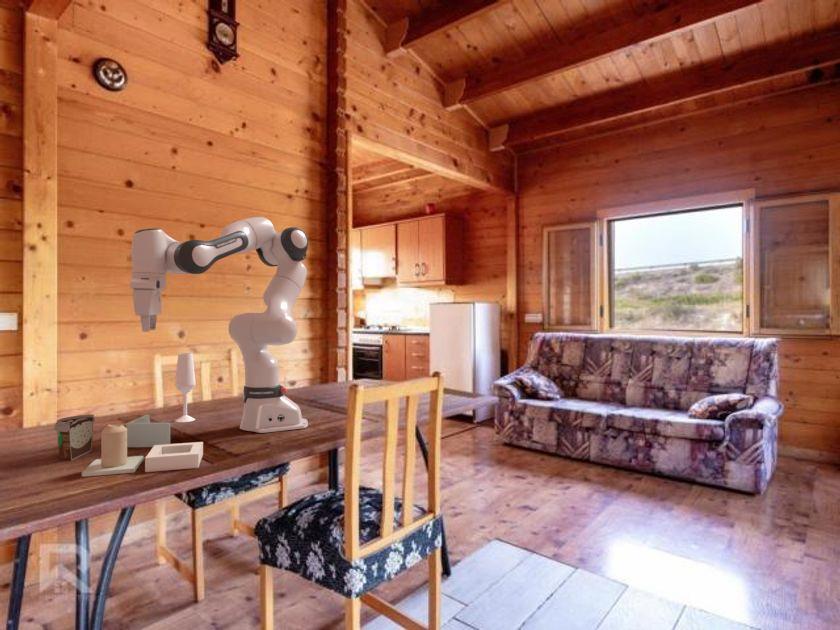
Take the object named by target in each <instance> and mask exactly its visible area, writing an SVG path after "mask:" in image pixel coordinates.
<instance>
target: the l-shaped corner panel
mask: <svg viewBox="0 0 840 630" xmlns="http://www.w3.org/2000/svg"><path fill="white" fill-rule="evenodd" d="M150 418H151V417H150V414H144V415H141V416H140V417H138V418H135V419H133V420H131V421H129V422H126V423H125V425H126V426H125V428H127V448H153V446H154V445H164V444H171V422H151V420H150Z"/></svg>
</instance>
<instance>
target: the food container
mask: <svg viewBox="0 0 840 630" xmlns="http://www.w3.org/2000/svg"><path fill="white" fill-rule="evenodd" d="M95 421H96V418H95V414H81V415H79V414H78V415H73V416H67V417H62V418H59V419H57V420H56V422H55V423H54V428H53V431H55V432H56V433H57V445H58V453H59V454H58V455H59V456H58V457H59V459H60V460H61V461H67V462H69V461H70V462H71V461H74V460H76V459H78V458H79V457H81V456H84V455H87V454H88V453H89V452H92V450H93V439H94V438H93V436H94V435H93V434H94V422H95Z"/></svg>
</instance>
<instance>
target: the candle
mask: <svg viewBox="0 0 840 630" xmlns="http://www.w3.org/2000/svg"><path fill="white" fill-rule="evenodd" d="M100 441H101V443H100V446H101V448H100V449H101V451H100V453H101V455H100V456H101V457H100V459H101V465H102V467H117V466H121V465H124V464H126V463H127V457H128V447H127V428H126V426H124V425H123V424H122V423H114V424H110V423H109V424H108V425H107V426H106V427H105V428H103V429H102V431H101V440H100Z"/></svg>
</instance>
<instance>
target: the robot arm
mask: <svg viewBox="0 0 840 630" xmlns="http://www.w3.org/2000/svg"><path fill="white" fill-rule="evenodd" d="M220 233H221V234H220V237H217V238H216V237H215V238H213V239H210V240H201V239H189V240H186V241H178V240H177V239H176V240H175V239H174V238H173V237H171V236H169V235H168V234H167V233H165V231H164V230H163V229H162V228H155V227H154V228H152V227H151V228H144V229H139V230H136V231H135V232H134V233H133V235H132V241H131V253H130V255H131V257H130V258H131V261H132V269H131V280H130V285H129V286H130V289H131V290H132V301H133V309H134V310H133V311H134V314H135V316H137V317H140V323H141V332H143V333H145V332H146V333H148V332H150V331H155V330H156V329H157V320H158V315H161V314H162V291H164V290H166V289H167V280H166V279H167V275H166V274H167V273H168V274H172V275H185V274H187V275H188V274H193V275H201V274H203V273H205V272H207V271H208V270H210V268H212V266H214V264H215V263H216V262H218V261H219V260H221V259H224V258H226V257H229V256H231V255H241V254H242V255H243V254H247V253H250V252H252V251H255V252H256V253H257V255H258V256H257V257H258V258H259V260H260V261H261V262H262V263H263V265H265V266H267V267H271V268H272V267H274V268H275V267H276V268H277V269H276V272H275V273H274V275H273V277H272V278H271V280H270V282H269V284H268V285H267V287H266V289H265V291H264V292H263V296H262V298H263V302H264V304H265V306H266V307H267V308H266V310H264V311H262V312H245V313H239V314H238V315H237V314H236V315H235V316H233V317H231V320H230V321H229V323H228V334H229V337H230V338H231V339H232V340H233V341H234V342H235V343H236V345H237V346H238V348H239V350H240V352H241V355H242V358H243V359H242V360H243V362H244V386H243V390H242V394H243V395H242V400H243V404H244V405H243V411H242V418H241V421H240V425H239V429H240V430H242V431H247V432H255V433H259V434H262V433H263V434H265V433H273V432H274V433H275V432H282V431H289V430H299V429H300V430H301V429H305V428H307V427H308V426H309V423H308V422H309V421H308V419H306V418H304V417H303V415H302V410H301V408H300V407H299V405H298V404H297V403H295V402H294V401H293V400H291V399H290V398H288V397H287V396H286V395H285V394H286V393H287V392H288V390H287V387H285V386H284V385H281V384H280V363H279V361H278V360H277V359H276V358H275V357H274V355H272V354H271V351H270V349H269V346H276V347H278V346H284V345H288V344H292V342H294V340H295V339H296V338H297V333H298V325H297V322H296V320H295V318H294V316H293V309H294V306H295V305H296V302H297V299H298V297H299V295H300V294H301V293H302V290H303V288H304V284H305V282H306V279H307V275H308V270H307V267H306V266H305V265H304V264H303V262H302V261H304V260H305V259H306V257H307V252H308V249H309V238H308V235H307V233H306V232H305V231H304V230H303V229H302V228H301V227H297V226H296V227H295V226H291V227H287V228H285V229H284V230H280V231H278V230H276V229H275V227H274V225H273V223H272V221H271V220H269V219H268V218H266V217H263V216H256V217H249V218H248V217H247V218H243V219H240V220H236V221H234V222H232V223H229V224H227V225H226V226H224V227H223V228H222V230H221V232H220Z"/></svg>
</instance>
